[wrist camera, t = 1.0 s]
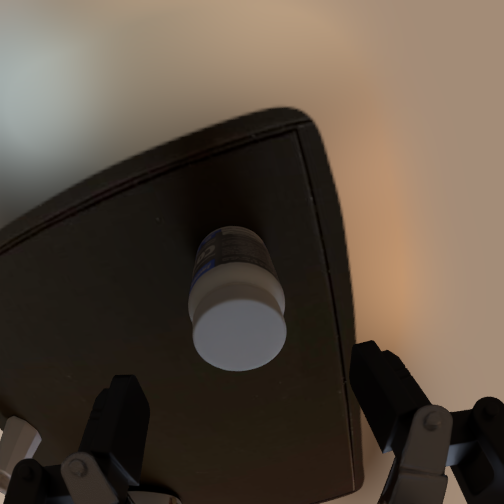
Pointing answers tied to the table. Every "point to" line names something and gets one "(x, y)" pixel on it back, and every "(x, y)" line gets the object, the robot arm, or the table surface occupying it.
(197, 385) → the table surface
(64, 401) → the table surface
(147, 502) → the spread jar
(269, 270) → the pill bottle
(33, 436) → the pepper shaker
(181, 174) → the table surface
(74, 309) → the table surface
